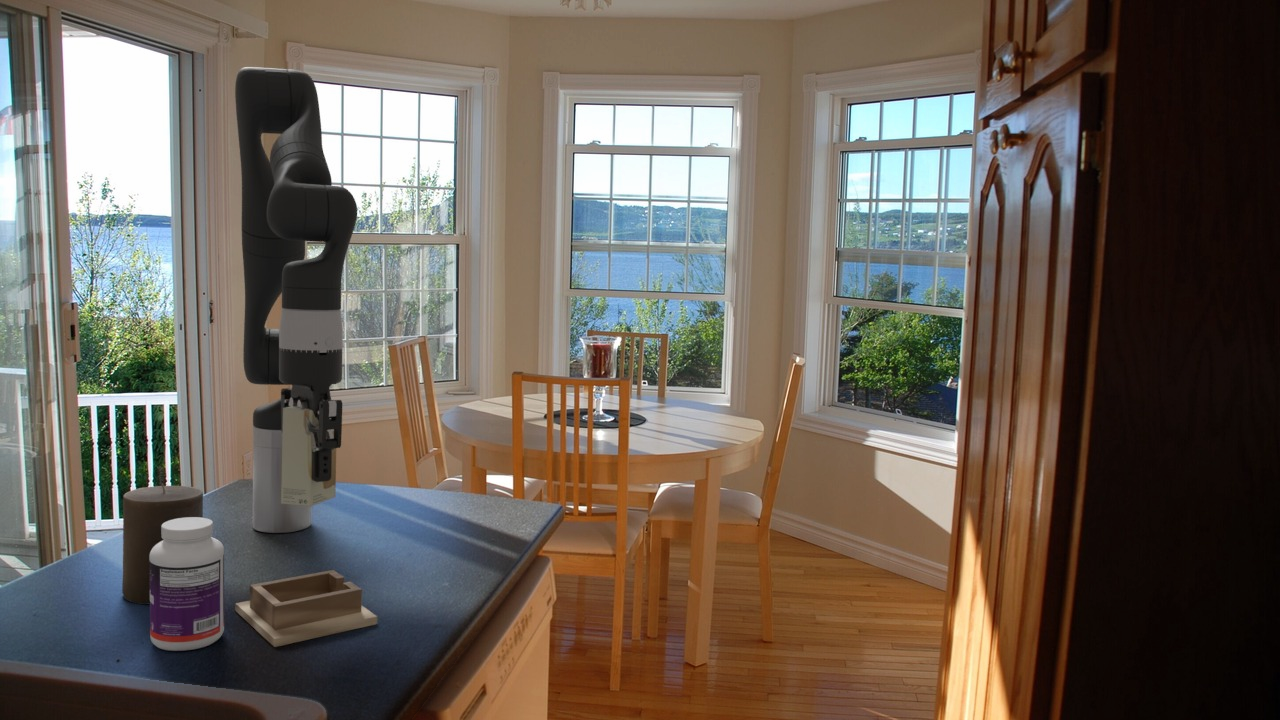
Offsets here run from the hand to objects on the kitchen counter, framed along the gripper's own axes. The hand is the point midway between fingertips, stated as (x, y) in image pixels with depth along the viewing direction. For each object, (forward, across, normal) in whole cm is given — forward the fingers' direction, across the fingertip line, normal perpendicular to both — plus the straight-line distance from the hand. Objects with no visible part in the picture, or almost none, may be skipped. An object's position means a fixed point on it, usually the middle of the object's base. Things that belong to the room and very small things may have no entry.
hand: (309, 475), depth 123 cm
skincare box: (+4, 0, 0) cm, 4 cm away
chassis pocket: (+19, 0, 0) cm, 19 cm away
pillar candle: (+19, -19, -12) cm, 29 cm away
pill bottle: (+19, -1, -14) cm, 24 cm away
